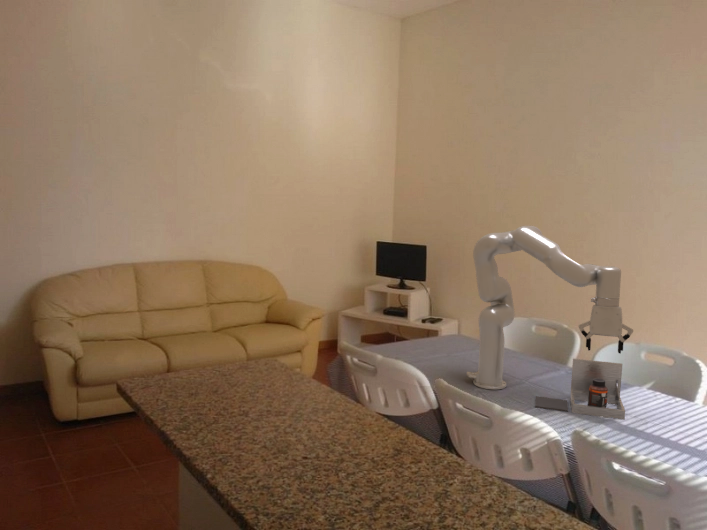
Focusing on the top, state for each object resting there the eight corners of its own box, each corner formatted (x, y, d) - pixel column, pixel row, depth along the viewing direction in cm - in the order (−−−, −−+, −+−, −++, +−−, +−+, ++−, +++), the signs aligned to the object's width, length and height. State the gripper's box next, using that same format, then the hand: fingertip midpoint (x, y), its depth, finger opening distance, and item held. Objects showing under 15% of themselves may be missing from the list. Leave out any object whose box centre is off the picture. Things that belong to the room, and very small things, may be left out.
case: (571, 412, 196) (574, 370, 194) (570, 396, 212) (572, 357, 210) (624, 419, 190) (628, 376, 189) (618, 402, 207) (621, 362, 205)
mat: (534, 407, 200) (535, 405, 200) (535, 397, 210) (535, 396, 210) (568, 411, 196) (568, 410, 196) (567, 401, 207) (567, 400, 207)
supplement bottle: (607, 415, 194) (610, 383, 193) (589, 413, 195) (591, 381, 194) (603, 409, 200) (606, 378, 199) (586, 407, 201) (588, 376, 200)
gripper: (580, 302, 194) (577, 351, 196) (636, 306, 188) (632, 356, 190) (579, 298, 201) (577, 346, 203) (633, 302, 195) (630, 351, 197)
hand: (604, 351), depth 196 cm, fingers open, 9 cm apart
